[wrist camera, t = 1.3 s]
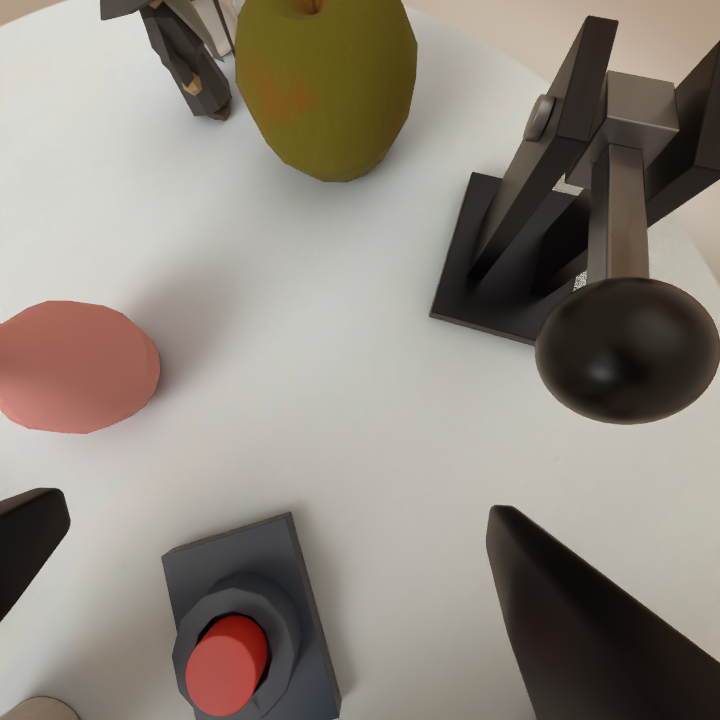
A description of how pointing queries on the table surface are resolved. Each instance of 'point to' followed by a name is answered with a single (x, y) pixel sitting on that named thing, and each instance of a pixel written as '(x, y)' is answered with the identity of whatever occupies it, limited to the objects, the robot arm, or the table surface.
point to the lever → (625, 279)
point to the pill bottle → (218, 23)
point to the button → (226, 665)
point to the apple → (327, 80)
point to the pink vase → (74, 367)
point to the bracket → (563, 195)
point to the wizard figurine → (182, 49)
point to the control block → (256, 616)
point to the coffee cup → (40, 710)
